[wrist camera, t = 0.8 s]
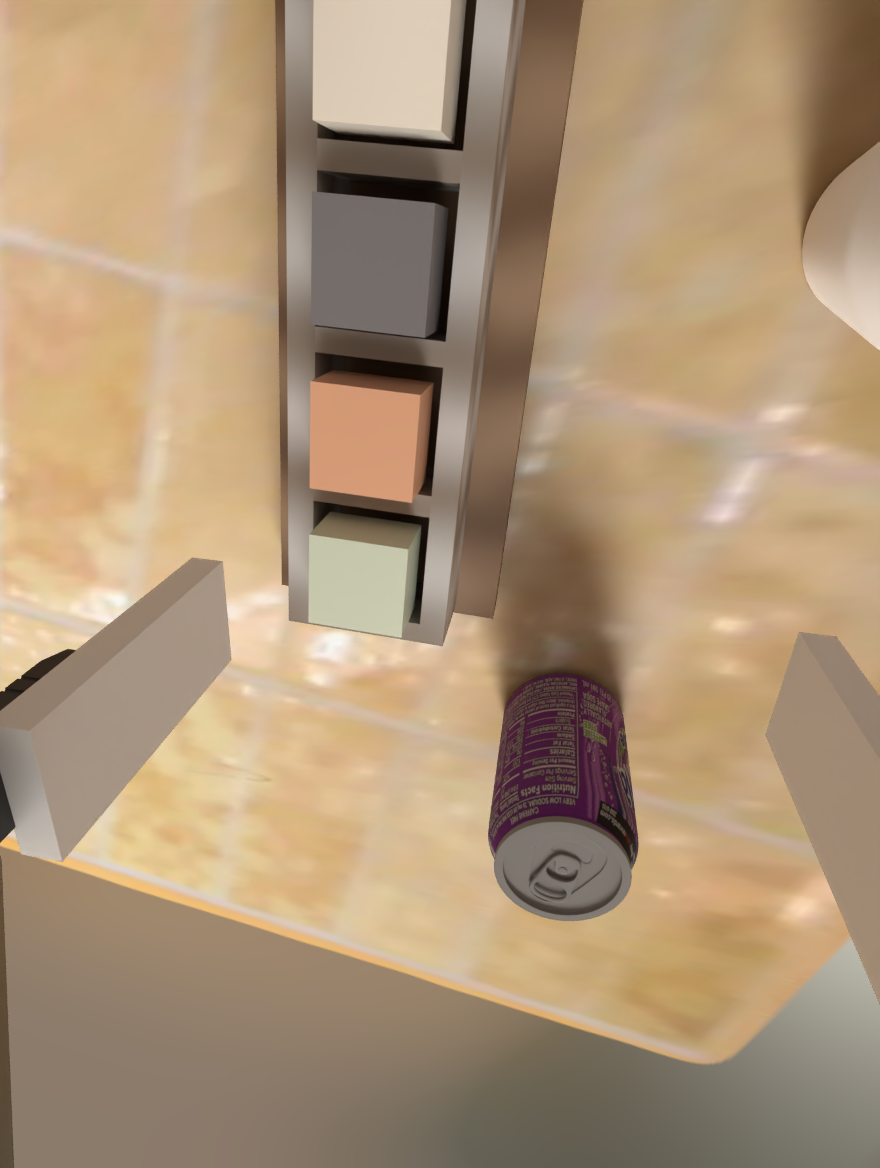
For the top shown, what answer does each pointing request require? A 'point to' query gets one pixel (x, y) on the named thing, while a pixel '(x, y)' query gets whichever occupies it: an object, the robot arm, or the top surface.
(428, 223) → the key charcoal
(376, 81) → the key ivory
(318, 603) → the key sage
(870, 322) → the cup
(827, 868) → the robot arm
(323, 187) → the slotted block tray
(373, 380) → the key terracotta
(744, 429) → the top surface
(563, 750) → the beverage can
